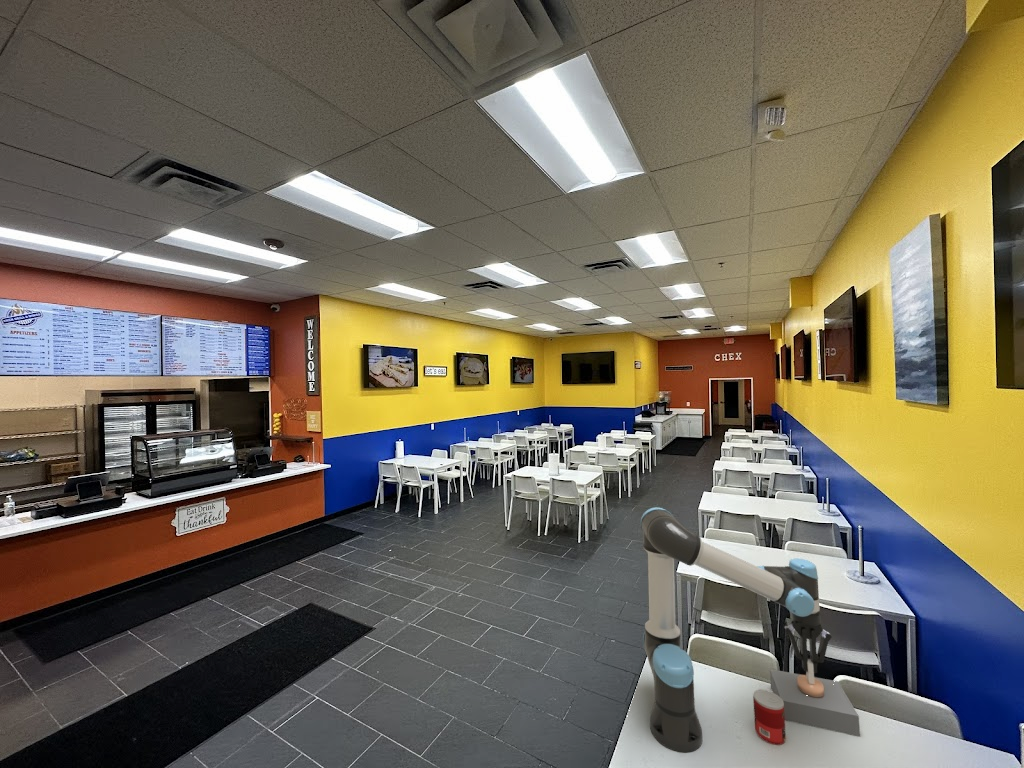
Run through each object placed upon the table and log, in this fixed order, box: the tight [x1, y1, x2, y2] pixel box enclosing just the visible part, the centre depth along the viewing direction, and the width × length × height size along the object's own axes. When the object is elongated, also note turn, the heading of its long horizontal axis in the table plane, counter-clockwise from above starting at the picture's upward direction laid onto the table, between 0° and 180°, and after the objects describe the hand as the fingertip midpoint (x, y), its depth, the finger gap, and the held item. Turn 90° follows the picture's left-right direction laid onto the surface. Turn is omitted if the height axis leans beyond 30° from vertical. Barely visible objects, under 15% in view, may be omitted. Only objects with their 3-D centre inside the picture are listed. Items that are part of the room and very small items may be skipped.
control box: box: [769, 668, 861, 737], centre depth 133 cm, size 20×16×6 cm
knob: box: [797, 674, 824, 697], centre depth 134 cm, size 7×7×8 cm
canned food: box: [752, 689, 787, 746], centre depth 124 cm, size 8×8×11 cm
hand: (810, 681), depth 134 cm, fingers closed
